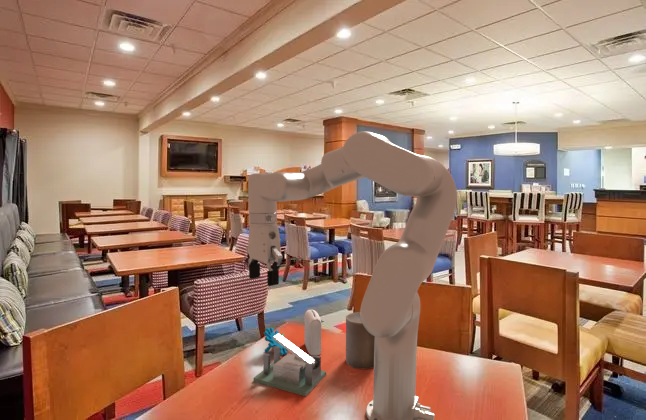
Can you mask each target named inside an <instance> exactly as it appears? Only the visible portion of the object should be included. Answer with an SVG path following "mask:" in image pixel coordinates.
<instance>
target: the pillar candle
mask: <svg viewBox="0 0 646 420" xmlns="http://www.w3.org/2000/svg"><path fill="white" fill-rule="evenodd" d="M374 341H375V336H373V335H372V334H370V333H369V332H368V331H367V330H366V329H365V327H364V325H363V323H362V320H361V316H360V311H358V312H357V311H356V312H351V313H348V314H347V315H346V316H345V362H346V364H347V365H348V366H350V367H351V368H354V369H358V370H359V369H360V370H364V369H372V368H373V369H374Z"/></svg>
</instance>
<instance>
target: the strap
mask: <svg viewBox="0 0 646 420" xmlns="http://www.w3.org/2000/svg"><path fill="white" fill-rule="evenodd" d="M273 339H274V340H275V341H276V342H278V343H279V344H280V345H282V346H283V347H284V348H286V349H287V350H288V351H287V352H289V353H290V354H293V355H295V356H296V357H297V358H299V359H300V360H301V361H303V362H304V363H306V362H307V363H312V364H313V367H314V366H315V365H316V364H318V361H317V360H314V359H312V358H311V357H310V356H311V355H309V354H307V353H306V352H304V351H303V350H302V349H300V347H298V346H297V345H295V344H294V343H293V342H291V341H290V340H288V339H287V338H286V337H284V336H281V334H280V332H279V333H278V334H277V335H275V336H274V337H273ZM308 355H309V356H308Z"/></svg>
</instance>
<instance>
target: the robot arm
mask: <svg viewBox="0 0 646 420" xmlns="http://www.w3.org/2000/svg"><path fill="white" fill-rule="evenodd" d="M364 178H366V179H367V180H370V181H372V182H375V184H378V185H379V186H381V187H383V188H385V189H387V190H389V191H392V192H393V193H395V194H398V195H400V196H403V197H408V198H409V197H411V198H412V197H413V198H414V197H416V200H415V205H414V207H412V210H411V212H410V214H409V216H408V218H407V222H406V225H405V227H404V229H403V232H402V234H401V235H400V238H399V240H398V241H397V242H396V243H394V244H392V245H389V246H388V247H387V248H386V249H385V250H384V251H382V253H381V255H380V256H379V258H378V260H377V261H376V263H375V267H374V269H373V271H372V274H371V278H370V279H369V282H368V285H367V287H366V289H365V293H364V294H363V298H362V300H361V305H360V309H359V312H360V316H361V320H362V323H363V325H364V327H365V329H366V330H367V331H368V332H369V333H370V334H372V335H373V336H375V341H374V367H373V388H372V389H373V391H372V395H373V396H372V400H371V401H369V402H368V404H367V405H366V409H365V413H366V418H367V420H435V413H434V412H432V410H431V409H432V407H431V406H428V405H422V404H421V403H419V396H417V395H416V382H417V381H416V380H417V353H418V352H417V350H418V332H419V323H420V316H421V297H420V295H419V293H418V291H419V288H420V286H421V284H423V282H425V280H426V279H428V278H429V277H430V275H431V274H432V272H433V270H434V267H435V264H436V261H437V259H438V256H439V254H440V251H441V249H442V246H443V244H444V241H445V239H446V235H447V233H448V230H449V228H450V225H451V223H452V220H453V217H454V215H455V211H456V207H457V202H458V194H457V193H458V192H457V187H456V186H457V185H456V183H455V179H454V177H453V175H452V174H451V173H450V172H449V170H448V169H447V168H446V167H445V166H444V164H442V163H441V162H440V161H439V160H437V159H435V158H433V157H430V156H427V155H424V154H423V155H422V154H417V153H414V152H412V151H410V150H407V149H405V148H403V147H400V146H398V145H396V144H394V143H392V142H391V141H390V139H388V137H386V136H384V135H382V134H378V133H374V132H371V131H365V130H364V131H359V132H355V133H353V134H352V135H351V136H349V137H348V138H347V139H346V141H345V142H344V144H343V146H341V147H339V148H336V149H334V150H330V151H328V152H326V153H324V154H323V155H322V157H321V162H320V164H318V165H316V166H313V167H312V168H309V169H305V170H303V171H299V172H293V171H291V172H290V171H278V172H271V173H267V172H266V173H265V172H264V173H262V172H261V173H251V174H249V175H248V179H247V180H248V182H247V183H248V187H247V188H248V190H247V191H248V226H249V227H248V228H249V229H248V245H247V246H246V247H245V250H246V255H247V256H246V257H247V259H248V261H247V262H248V275H249V276H248V277H249V279H251V280H252V279H253V280H254V279H259V278H260V277H261V263H263V264H266V266H267V269H268V270H267V271H266V273H267V274H266V276H267V277H266V278H267V279H266V282H267V284H266V285H267V286H268V287H272V286H277V285H279V283H280V272H279V271H280V270H281V266H282V261H283V257H284V255H283V254H282V252H281V238H280V230H279V225H278V213H277V211H278V207H277V205H278V203H277V202H280V203H281V202H290V201H292V202H293V201H303V200H306V199H310V198H312V197H315V196H318V195H322V194H324V193H325V194H326V193H328V192H329V191H332V190H334V189H336V188H338V187H341V186H342V185H346V184H349V183H351V182H354V181H355V182H356V181H358V180H361V179H364ZM259 262H261V263H259Z"/></svg>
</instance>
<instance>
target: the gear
mask: <svg viewBox="0 0 646 420" xmlns="http://www.w3.org/2000/svg"><path fill="white" fill-rule="evenodd" d="M278 333H279V334H280V331H279V330H278V329H276V330H275V328H273V327H270V328H269V327H266V328H265V331H264V332H263V334H264V336H265V337H264V341H265V342H267V343H268V342H269V343H268V346H267V347H266V348H265V349H264V352H265V353H268V352H269V351H270V350H271V349H272V348H274V347H275V346H277V347H280V357H282V356H283V355H284V356H286V355H287V354H288V353H289V351H288V350H287V349H286V348H284V347H283V346H282V345H280V344H279V343H278V342H276V341H275V340H274V339H273V337H274V336H275V335H277V334H278ZM280 335H281V336H283V337H284V336H285V334H284V333H281V334H280ZM273 352H274V349H273Z"/></svg>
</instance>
